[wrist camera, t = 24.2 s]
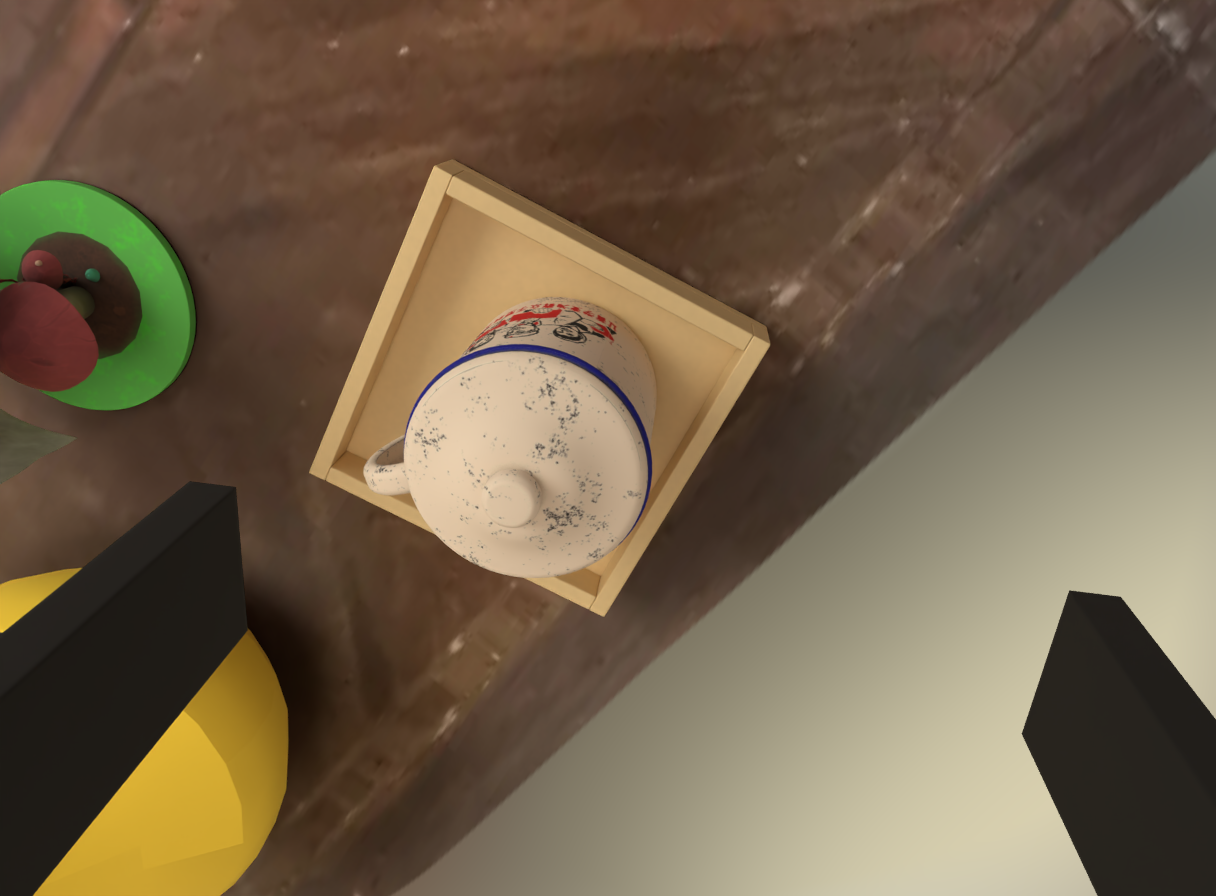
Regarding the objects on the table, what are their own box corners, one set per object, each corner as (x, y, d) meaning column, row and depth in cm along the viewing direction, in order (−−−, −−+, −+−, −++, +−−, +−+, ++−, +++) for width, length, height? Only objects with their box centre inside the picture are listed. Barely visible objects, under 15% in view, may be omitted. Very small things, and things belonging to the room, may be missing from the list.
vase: (403, 674, 49) (234, 1015, 31) (215, 842, 55) (-15, 1205, 38) (122, 443, 45) (-250, 684, 28) (-46, 651, 51) (-437, 955, 34)
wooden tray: (767, 326, 40) (771, 344, 37) (609, 586, 46) (603, 617, 43) (452, 158, 38) (434, 165, 36) (331, 449, 44) (308, 473, 42)
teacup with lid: (633, 265, 38) (604, 344, 28) (684, 459, 42) (676, 597, 31) (373, 332, 41) (253, 428, 30) (440, 511, 44) (354, 655, 33)
